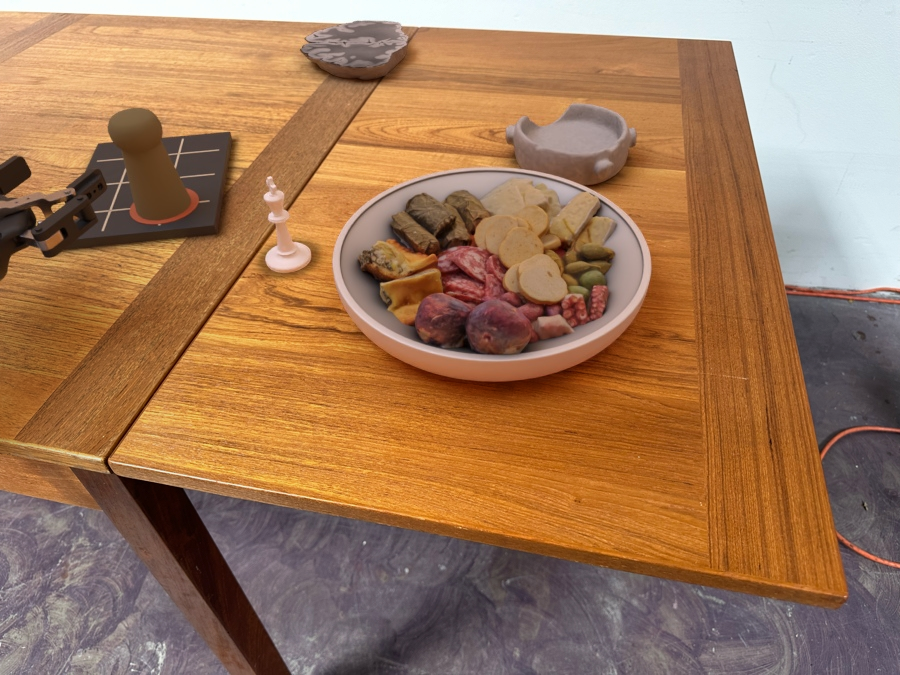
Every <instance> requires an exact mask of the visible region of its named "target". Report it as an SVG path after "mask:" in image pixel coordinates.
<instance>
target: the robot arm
mask: <svg viewBox="0 0 900 675" xmlns="http://www.w3.org/2000/svg"><path fill="white" fill-rule="evenodd" d="M85 171H86V170H85ZM85 171H84V172H83V173H82V174H80V175H79V176H78V177H77V178H76V179H74V180H73V181H72V182H70V183H69V184H68V185H67V186H66V187H65V188H64V189H61V190H60V189H59V190H58V191H54V192H51V193H48V194H46V193H43V192H40V191H36V192H32V193H29V194H27V195H24V196H23V195H22V196H21V197H7V196H6V195H8V194H9V193H11V192H12V191H14V190H15V189H16V188H18V187H19V186H20V185H22V184H23V183H24V182H26V181H27V180H29V179H30V178H31V177H32V170H31V168H30V166H29V165H28V162H27V160H26V159H25V157H23V156H20V155H12V156H10V157H9V158H8V159H6V160H5V161H3V162H2V163H0V282H1V281H2V280H3V279H5V278H6V276H7V274H8V270H9V264H10V261H11V260H10V259H11V257H12V256H13V255H14V254H16V253H18V252H21V251H23V250H25V249H27V248H29V247H32V248H37V249H39V250H40V252H41V253H42V255H43V257H44V258H46V259H51V258H55V257H57V256H58V255H60V254H61V252H63V251H65V250H64V249H65V248H66V247H68V246H69V245H70V244H71V243H73V242H74V241H75V240H76V239H78V238H79V237H80V236H81V235H83V234H84V233H85V232H86V231H88V230H89V229H90V228H91V227H93V226H94V225H95V224H96V223H97V222H98V218H97V216H96V214H95V212H94V210H93V208H92V205H91V203H92V202H94V201H95V200H96V199H97V198H98V197H100V196H101V194H103V193H104V192H105V191H106V190H107V184H106V181H105V179H104V177H103V175H102V172H101V170H99V169H95V168H90V169H88V170H87V171H86V172H85ZM61 203H64V205H62V206H61V207H60V208H58V209H57V210H55V211H54V212H53V210H52V207H53V206H55V205H58V204H61ZM33 207H35V208H39V209H40V211H41V212H42V214H43V216H44V220H43V219H39V220H37V216H36V214H35V212H34V211H33V209H32V208H33ZM76 219H80V220H78V221H77V222H76V223H75V221H74V220H76Z"/></svg>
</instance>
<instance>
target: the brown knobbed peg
mask: <svg viewBox="0 0 900 675" xmlns="http://www.w3.org/2000/svg"><path fill="white" fill-rule="evenodd" d="M107 133H108V136H109V138H110V139H111V142H113V143H114V144H115V145H116V146H117V147H119V148H120V149H121V151H122V155H123V160H124V164H125V168H126V172H127V176H128V180H129V184H130V188H131V192H132V196H133V200H134V205H135V209H136V212H137V214H138V216H140V217H141V218H143V219H147V220H164V219H169V218H172V217H175V216H177V215H179V214H181V213H183V212H184V211H185V210H186V209H188V207H189V206H190V204H191V198H190V196H189V194H188V192H187V190H186V188H185V186H184V184H183V182H182V180H181V178H180V176H179V175H178V173H177V171H176V169H175V167H174V165H173V163H172V161H171V159H170V157H169V155H168V153H167V151H166V149H165V147H164V145H163V143H162V141H161V138H163V126H162V122H161V120H160V119H159V117H158V116H157V114H156V113H155V112H153V111H152V110H150V109H147V108H144V107H131V108H126V109H122V110H120V111H118V112H116V113H115V114H113V115H112V116H111V117H110V118H109V119H108V123H107Z"/></svg>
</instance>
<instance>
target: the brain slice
mask: <svg viewBox="0 0 900 675" xmlns="http://www.w3.org/2000/svg"><path fill="white" fill-rule="evenodd" d="M409 39H410V38H409V36H408V35H407V34H406V33H405V32H404V31H403V25H402V24H401V22H398V21H397V22H396V21H391V20H354V21H352V22H346V23H340V24H336V25H333V26H328V27H325V28H323V29H320V30H316V31H314V32H312V33H311V34H308V35H305V37H304V41H305V42H306V43H305V44H303V45H302V46H301V48H300V49H299V52H301V54H302V55H303V56H304V57H305V58H306V59H307V60H308V61H310V62H312V63H313V64H317V66H318V67H319V68H320V69H321V70H322V71H325V72H327V73H328V74H330V75H332V76H335V77H337V78H342V79H357V78H358V79H359V80H362V81H369V80H373V79H374V80H375V79H380V78H382V77H386V76H387V75H388V74H389V72H390V71H392V70H393V69H394V68H395V67H397V66H398V65H399V63H400V62H401V61H402V60H403V59H404V58H405V56H406V55H407V49H408V44H409Z"/></svg>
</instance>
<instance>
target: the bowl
mask: <svg viewBox="0 0 900 675" xmlns="http://www.w3.org/2000/svg"><path fill="white" fill-rule="evenodd" d="M337 236H338V237H337V239H336V241H335V243H334V248H333V251H332V259H331V260H332V274H333V280H334V284H335V288H336V292H337V295H338V297H339V300H340V302H341V304H342V307H343V308H344V310H345V312H346V313H347V315H348V316H349V318H350V319H351V321H352V322H353V324H354V325H355V326H356V328H358V329H359V331H360V332H361V333H363V335H365V336H366V337H367V339H368V340H370V341H371V342H372V343H373V344H374V345H376V346H378V347H379V348H380V349H381V350H382V351H384V352H385V353H387V354H388V355H390V356H392V357H394V358H396V359H397V360H399V361H401V362H403V363H405V364H407V365H409V366H413V367H414V368H417V369H420V370H423V371H425V372H429V373H431V374H436V375H439V376H442V377H447V378H453V379H457V380H463V381H465V380H466V381H474V382H515V381H522V380H529V379H535V378H540V377H545V376H549V375H553V374H555V373H558V372H562V371H565V370H567V369H570V368H572V367H575V366H577V365H579V364H581V363H583V362H586V361H587V360H589V359H591V358H593V357H594V356H596V355H598V354H599V353H601V352H602V351H604V350H605V349H606V348H608V347H609V346H610V345H611V344H613V343H614V342H615V341H616V340H618V338H619V337H620V336H621V335H622V334H623V333H624V332H625V331H627V329H628V327H630V325H631V324H632V323H633V321H634V319H635V318H636V317H637V315H638V313H639V312H640V310H641V308H642V306H643V304H644V301H645V299H646V297H647V293H648V289H649V287H650V282H651V277H652V256H651V252H650V248H649V245H648V242H647V240H646V238H645V236H644V235H643V232H642V230H641V229H640V228H639V226H638V224H636V222H635V221H634V220H633V219H632V217H630V216H629V214H627V213H626V212H625V211H624V210H623V209H622V208H621V207H619V206H618V205H617V204H616V203H615V202H613V201H612V200H610V199H609V198H607V197H605V196H604V195H602V194H601V193H599V192H598V191H595V190H594V189H591V188H589V187H587V186H586V185H581V184H578V183H576V182H573V181H570V180H567V179H564V178H561V177H558V176H554V175H550V174H546V173H542V172H537V171H531V170H525V169H522V168H516V167H515V168H514V167H506V166H505V167H503V166H474V167H462V168H453V169H448V170H447V169H446V170H442V171H435V172H432V173H428V174H424V175H421V176H418V177H414V178H411V179H408V180H406V181H403V182H400V183H398V184H396V185H393V186H391V187H389V188H387V189H385V190H384V191H382V192H380V193H378V194H377V195H375V196H373V197H372V198H370V199H369V200H368V201H366V202H365V203H364V204H363V205H361V207H359V208H358V209H357V210H356V211H355V212H354V213H353V214H352V215H351V216H350V218H349V219H348V220H347V221H346V223H345V224H344V226H343V227H342V229H341V230H340V232H339V234H338V235H337Z"/></svg>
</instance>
